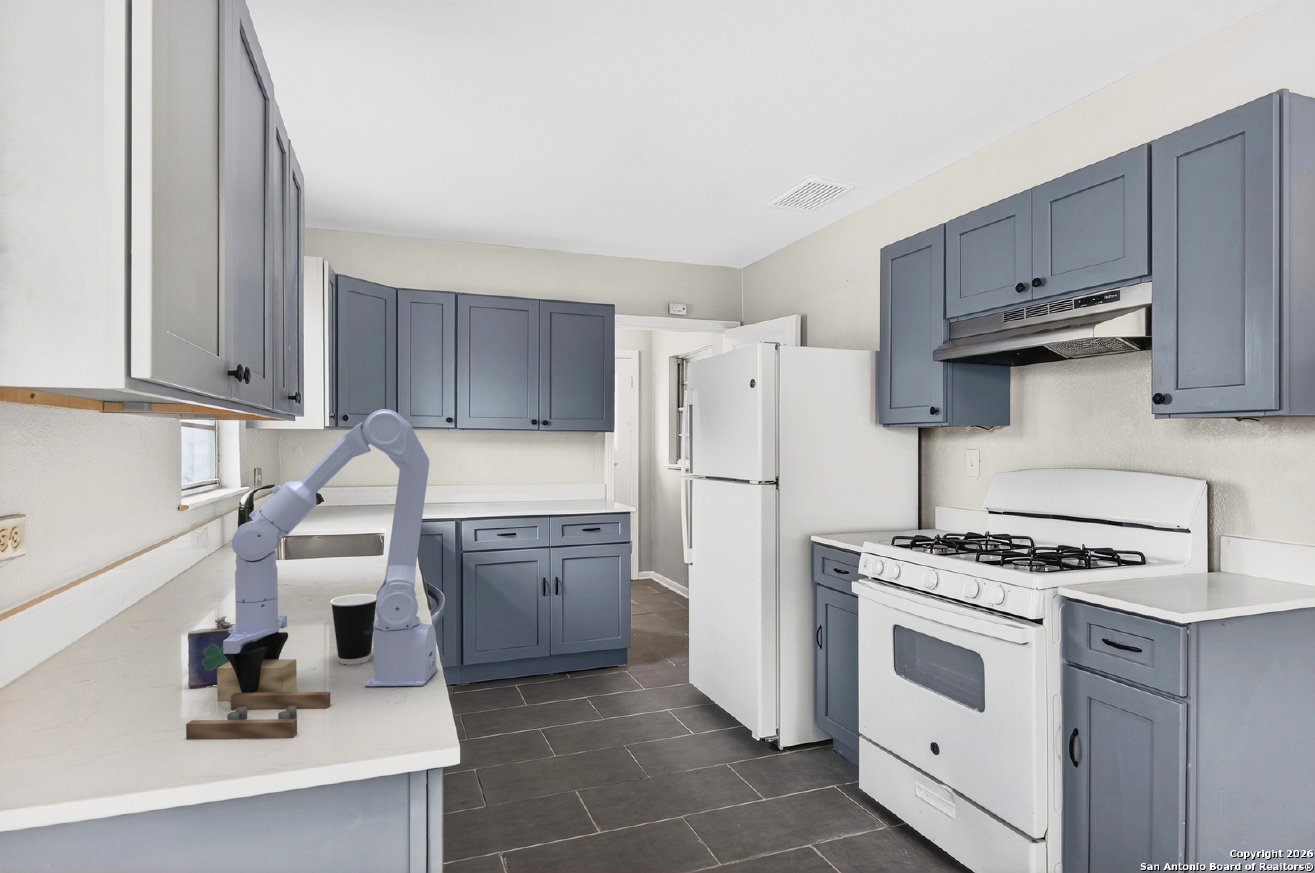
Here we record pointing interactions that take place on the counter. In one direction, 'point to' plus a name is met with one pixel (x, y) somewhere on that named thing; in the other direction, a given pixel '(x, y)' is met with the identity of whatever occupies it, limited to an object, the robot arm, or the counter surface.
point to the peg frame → (259, 727)
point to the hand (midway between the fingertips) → (257, 686)
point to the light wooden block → (272, 678)
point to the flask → (207, 653)
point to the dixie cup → (354, 626)
